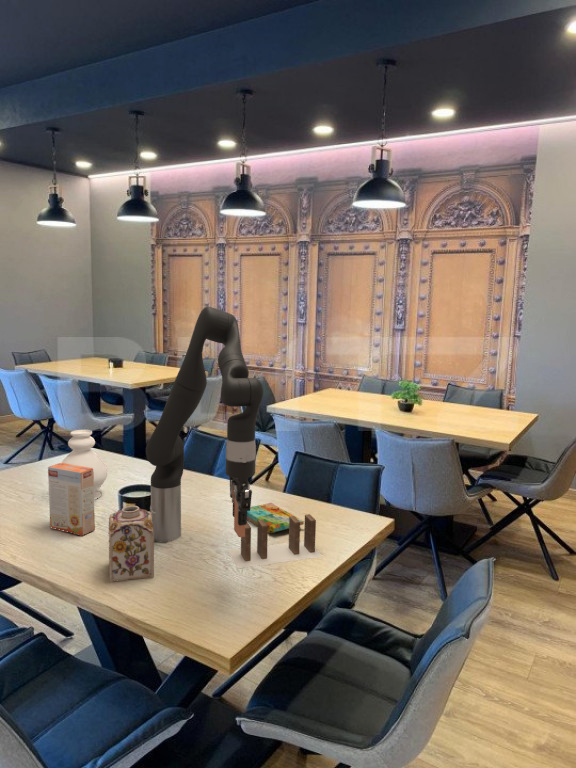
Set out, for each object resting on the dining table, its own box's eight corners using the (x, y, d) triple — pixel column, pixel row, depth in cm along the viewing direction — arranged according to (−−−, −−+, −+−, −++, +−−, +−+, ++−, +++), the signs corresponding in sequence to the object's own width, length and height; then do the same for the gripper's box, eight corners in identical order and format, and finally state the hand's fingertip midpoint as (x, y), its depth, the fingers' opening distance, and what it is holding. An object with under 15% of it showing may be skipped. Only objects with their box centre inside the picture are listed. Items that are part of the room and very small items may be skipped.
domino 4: (294, 554, 167) (295, 522, 165) (288, 547, 171) (289, 516, 170) (299, 554, 167) (300, 522, 166) (293, 547, 172) (294, 515, 170)
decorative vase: (46, 500, 207) (44, 434, 203) (80, 486, 223) (78, 424, 220) (86, 508, 201) (84, 439, 197) (117, 493, 217) (116, 429, 213)
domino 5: (309, 552, 168) (310, 520, 167) (303, 545, 173) (304, 514, 172) (314, 552, 169) (315, 520, 168) (308, 545, 174) (309, 514, 172)
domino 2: (245, 561, 162) (245, 528, 160) (240, 553, 166) (241, 521, 165) (250, 560, 162) (251, 527, 161) (246, 553, 167) (246, 521, 166)
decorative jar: (154, 578, 152) (153, 514, 149) (109, 583, 148) (107, 518, 146) (152, 558, 163) (151, 499, 160) (109, 563, 160) (108, 502, 157)
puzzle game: (270, 500, 201) (303, 518, 185) (269, 512, 201) (303, 532, 185) (241, 506, 194) (274, 525, 178) (241, 519, 195) (273, 540, 178)
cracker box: (96, 530, 182) (94, 467, 179) (82, 537, 176) (80, 472, 173) (63, 522, 188) (61, 461, 185) (49, 528, 182) (46, 466, 179)
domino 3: (261, 559, 163) (262, 526, 162) (257, 551, 168) (257, 519, 167) (267, 558, 164) (267, 525, 163) (262, 551, 169) (262, 519, 167)
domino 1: (238, 537, 143) (239, 499, 141) (233, 529, 147) (234, 492, 146) (244, 536, 143) (245, 498, 142) (239, 529, 148) (240, 492, 146)
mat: (237, 569, 158) (237, 568, 157) (227, 551, 169) (227, 550, 169) (323, 557, 166) (323, 556, 166) (308, 541, 177) (308, 540, 177)
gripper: (220, 450, 148) (219, 512, 150) (232, 465, 134) (231, 533, 137) (247, 448, 150) (246, 509, 153) (263, 463, 137) (261, 530, 139)
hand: (239, 520), depth 145 cm, fingers closed on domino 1, 5 cm apart
